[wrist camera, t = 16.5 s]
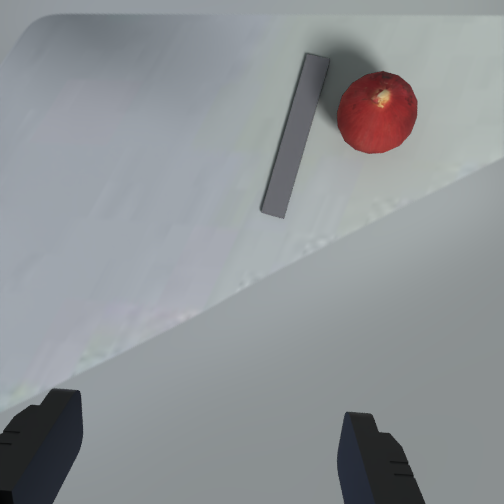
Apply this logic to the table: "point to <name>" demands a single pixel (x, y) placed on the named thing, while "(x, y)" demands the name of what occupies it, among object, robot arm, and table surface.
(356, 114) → the onion
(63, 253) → the table surface
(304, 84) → the flat gray rectangular bar
